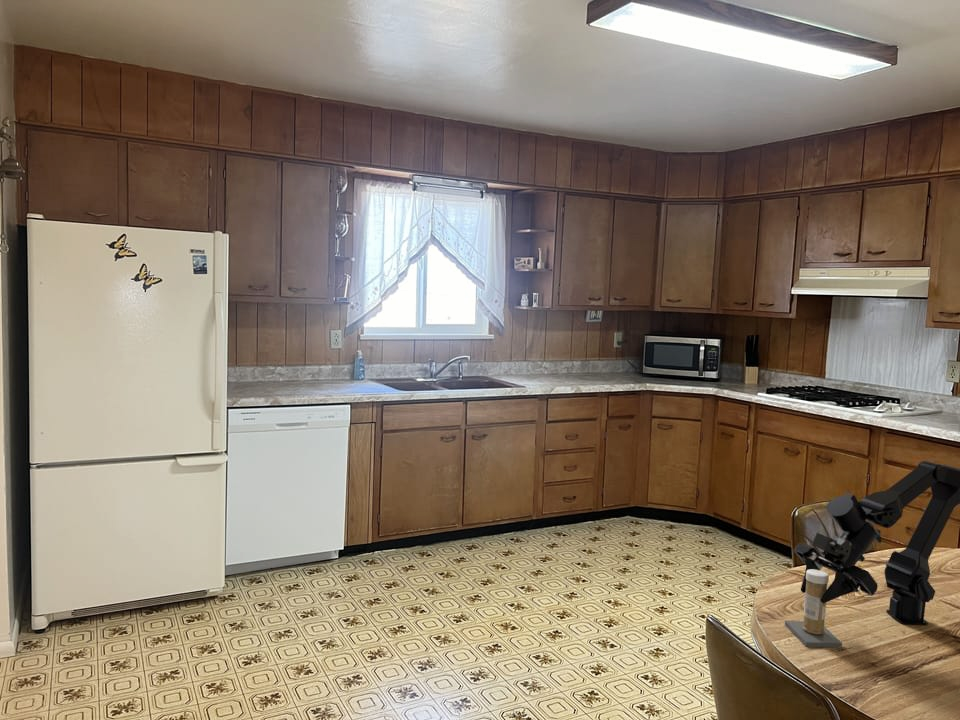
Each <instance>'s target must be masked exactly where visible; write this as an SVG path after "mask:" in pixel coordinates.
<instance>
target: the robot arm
mask: <svg viewBox="0 0 960 720" xmlns="http://www.w3.org/2000/svg"><path fill="white" fill-rule="evenodd" d="M929 488H930V492H931V498H930V500H929V501H928V503H927V505H926V508H925V510H924V511H923V514H922V515H921V518H920V520H919V522H918V523H917V525H916V528H915V530H914V531H913V533H912V536H911V537H910V539H909V542H908V543H907V544H906V547H905V549H903V550H902V551H899V552H898V551H897V550H895V551H892V553H891V554H890V556H889V559H888V561H887V562H886V563H885V567H884V572H883V573H884V577H885V583H886V587H887V589H890V590H892V594H891V596H890V599H889V606H888V607H889V608H888V609H886V613H887V614H889V615H890V616H891V617H892V618H894V619H895V620H896V621H897V622H899V623H901V624H902V625H926V626H927V625H929V622H928V621H927V619H925V612H926V603H930V601H933V600H934V596H935V595H936V590H935V589H934V587H933V586H932V584H931V583H930V582H929V578H930V575H931V570H930V565H929V559H930V557H931V555H932V552H933V551H934V549H935V547H936V545H937V544H938V541H939V538H940V536H942V533H943V531H944V529H945V526H947V525H946V524H947V523H948V520H949V519H950V517H951V515H952V514H953V511H954V509H955V507H956V506H959V505H960V467H956V466H952V465H948V464H941V463H938V462H937V463H936V462H933V461H929V460H924V461H923V460H922V461H920V462H919V463H918V465H917V467H915V468H914V469H913V470H912V471H910V472H908V474H907V475H905V476H904V477H902V478H901V479H900V480H898V481H897V482H896V483H894V484H893V485H892V486H890V487H889V488H887V489H885V490H881V491H875V492H872V493H870V494H868V495H866V496H865V497H863V498H862V499H861V500H858V499H857V497H856V495H854V494H852V493H850V492H845V494H844V495H840V496H837V497H835V498H832V499H830V500H829V501H828V503H827V505H826V512H827V513H828V515H829V516H830V517H831V519H833V521H834V522H835V524H836V526H837V527H838V528H839V529H840V530H841V531H843V532H842V533H841V535H840V536H838V535H834V536H832V538H831V537H829V536H827V535H825V534H822V533H821V532H820V533H819V532H815V533H816V534H815V536H814V537H813V540H812V542H811V545H809V544H806V543H805V542H799V543H798V544H797V545H796V546H795V548H794V549H793V551H794V553H795V554H796V555H797V556H798V558H799V559H800V560H801V561H802V563H803V564H804V565H805V571H804V574H803V575H804V577H803V578H802V582H801V583H802V584H801V587H800V592H801V593H802V594H805V591H806V571H807V570H810V569H816V570H821V571H822V569H823V567H824V568H825V569H828V570H830V571H832V572H834V573H835V574H834V579H833V581H832V582H831V583H830V585H829V586H827V590H826V591H825V593H824V594H823V596H822V598H821V599H820V601H821V602H822V603H826V604H827V603H828V602H830V601H832V600H835V599H837V598H839V597H843V596H845V595H848V594H852V593H856V594H857V593H859V592H860V591H861V592H863V593H865V594H867V595H869V596H871V597H873V596H874V595H875V593H876V592H877V591H878V582H877V581H876V579H875V578H874V577H873V576H872V574H871V573H870V572H869V571H868V570H865V569H863V568H862V567H859V566H856V565H857V563H858V561H859V562H861V563H863V562H864V561H865V559H866V557H864V554H865V553H866V552H867V550H868V549H869V547H870V546H871V545H872V543H873V542H876V543H879V544H880V543H882V539H883V538H882V536H881V530H880V529H877V528H876V527H874V525H876V526H878V527H882V528H884V529H885V528H886V529H889V528H892V527H893V526H894V525H895V524H896V523H897V522H898V521H899V520H900V519H901V518H902V517H903V511H904V508H905V507H906V506H907V505H909V504H910V503H911V502H913V501H914V500H915V499H917V498H918V497H919V496H921V495H922V494H924V493H925V492H926V491H927V490H928V489H929ZM873 524H874V525H873ZM815 547H816V548H818V549H820V550H819V551H820V553H821V554H820V553H819V552H818V550H817V549H816V548H815ZM821 555H823V556H821ZM859 590H860V591H859Z"/></svg>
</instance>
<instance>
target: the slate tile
mask: <svg viewBox="0 0 960 720" xmlns="http://www.w3.org/2000/svg"><path fill="white" fill-rule="evenodd" d="M803 621H804V620H784V626H785V627H786V628H787V629H788V630H789V631H790V632H791V633H792V634H793V635H794V637H796V638H797V639H798V641H800V642H801V644H803V646H804V647H805V648H806V647H807V648H809V647H810V648H843V642H842V641H841V640H840V639H839V638H837V637H836V636H835V635H834V634H833V633H832V632H831V631H830V630H829V629H828V628H827V627H826V626H824V633H823V634H811V633H808V632H806V631H805V630H804V629H803V628H802V627H803Z"/></svg>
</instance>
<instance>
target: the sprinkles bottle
mask: <svg viewBox="0 0 960 720" xmlns="http://www.w3.org/2000/svg"><path fill="white" fill-rule="evenodd" d="M805 571H806V570H805ZM829 577H830V575H829V574H828V573H827V572H826V571H825V570H822V569H821V570H816V569H810V570H807V571H806V591H805V593H804V604H803V605H804V606H803V620H802V621H803V627H802V628H803V629H804V630H805V631H806V632H808V633H811V634H823V633H824V627H825V618H826V611H827V610H826V608H827V602H826V603H822V602H821V601H820V599H821V598H822V596H823V594H824V593H825V591H826V590H827V589H828V584H829Z"/></svg>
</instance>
